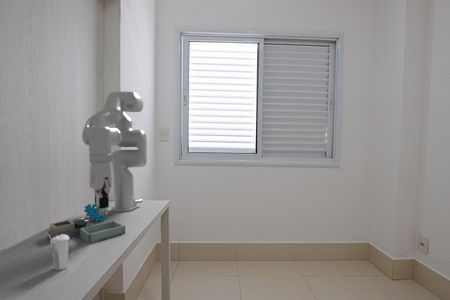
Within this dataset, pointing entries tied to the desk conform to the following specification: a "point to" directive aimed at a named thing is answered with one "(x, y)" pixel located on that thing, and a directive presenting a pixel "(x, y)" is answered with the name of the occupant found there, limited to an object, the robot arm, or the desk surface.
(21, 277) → the desk surface
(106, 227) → the tray
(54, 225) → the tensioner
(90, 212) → the gear
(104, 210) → the pin
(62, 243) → the milkshake
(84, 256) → the desk surface
